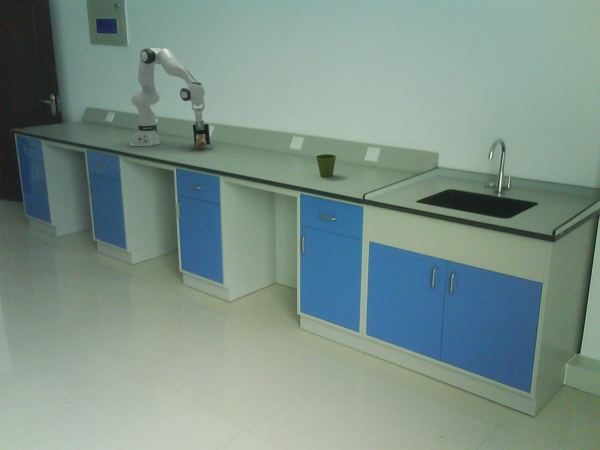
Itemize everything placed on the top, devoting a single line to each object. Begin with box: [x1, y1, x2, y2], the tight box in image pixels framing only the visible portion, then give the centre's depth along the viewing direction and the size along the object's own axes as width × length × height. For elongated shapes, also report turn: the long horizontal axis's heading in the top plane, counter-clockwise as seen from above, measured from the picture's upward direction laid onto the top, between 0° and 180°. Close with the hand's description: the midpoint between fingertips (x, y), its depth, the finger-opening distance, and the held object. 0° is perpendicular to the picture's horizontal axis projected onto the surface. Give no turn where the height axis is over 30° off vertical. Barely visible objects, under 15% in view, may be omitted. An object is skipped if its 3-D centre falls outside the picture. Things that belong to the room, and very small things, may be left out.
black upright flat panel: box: [192, 123, 211, 146], centre depth 440 cm, size 11×4×15 cm, turn 84°
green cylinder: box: [195, 119, 205, 130], centre depth 418 cm, size 6×6×6 cm
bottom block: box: [195, 141, 208, 150], centre depth 423 cm, size 7×7×5 cm
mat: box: [189, 146, 214, 152], centre depth 424 cm, size 16×12×1 cm
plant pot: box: [315, 153, 337, 178], centre depth 340 cm, size 12×12×11 cm
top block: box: [196, 134, 205, 143], centre depth 421 cm, size 6×6×5 cm
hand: (199, 126), depth 419 cm, fingers closed on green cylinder, 5 cm apart
